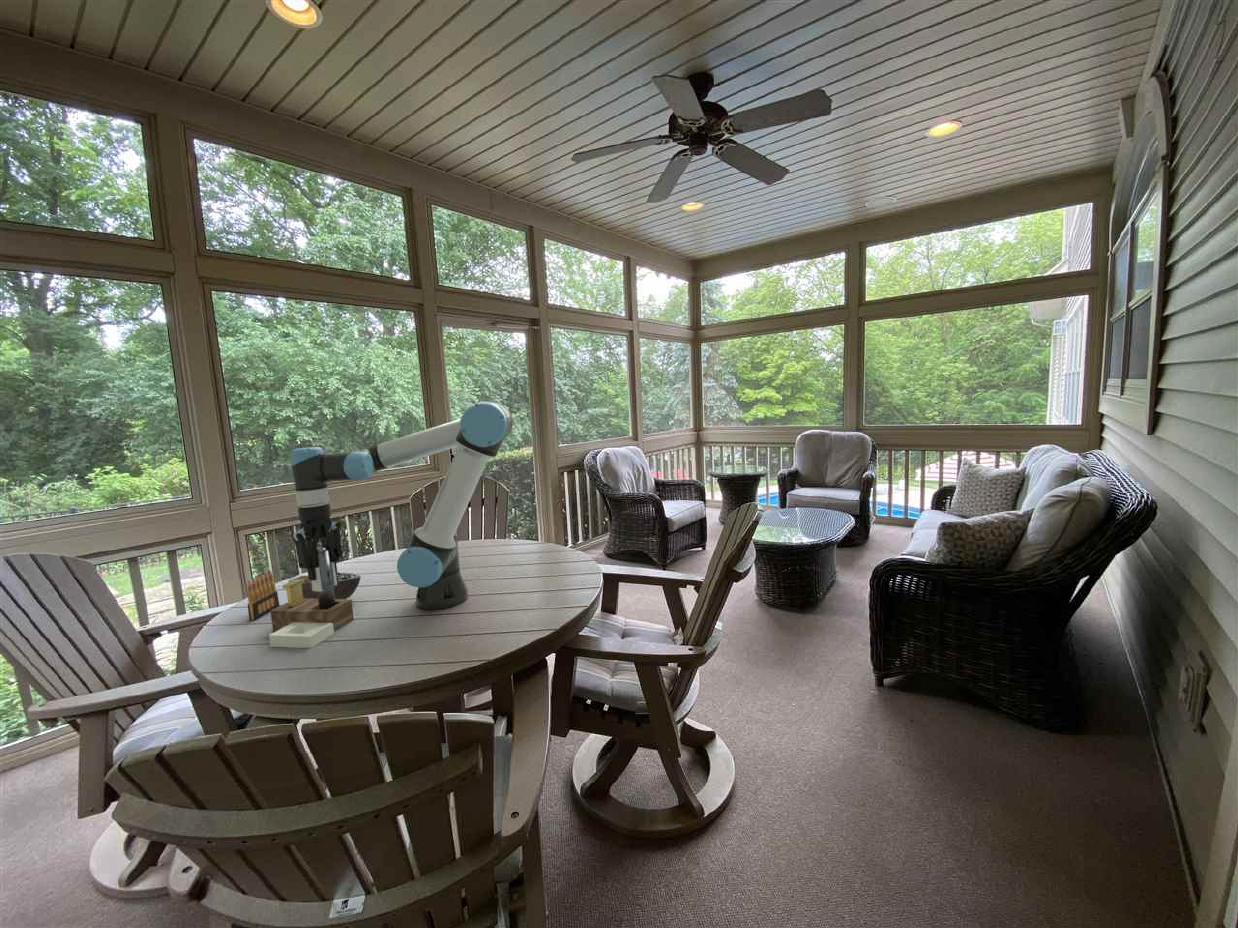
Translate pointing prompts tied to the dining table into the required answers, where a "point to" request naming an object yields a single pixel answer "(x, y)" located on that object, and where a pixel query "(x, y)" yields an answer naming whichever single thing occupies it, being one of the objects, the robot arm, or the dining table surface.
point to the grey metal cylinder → (325, 579)
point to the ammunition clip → (262, 596)
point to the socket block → (313, 614)
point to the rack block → (301, 634)
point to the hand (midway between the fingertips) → (325, 587)
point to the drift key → (294, 592)
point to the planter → (341, 590)
